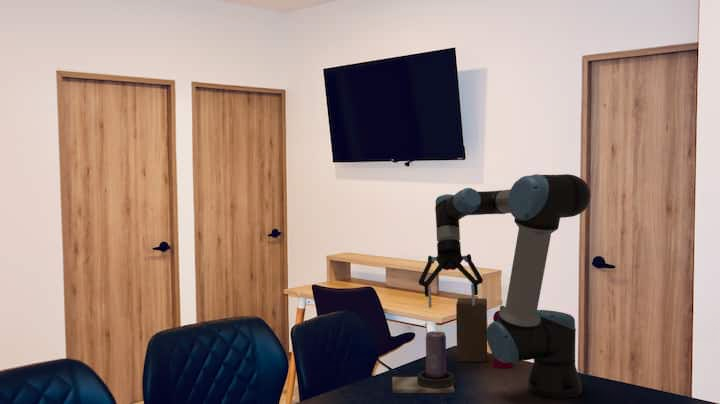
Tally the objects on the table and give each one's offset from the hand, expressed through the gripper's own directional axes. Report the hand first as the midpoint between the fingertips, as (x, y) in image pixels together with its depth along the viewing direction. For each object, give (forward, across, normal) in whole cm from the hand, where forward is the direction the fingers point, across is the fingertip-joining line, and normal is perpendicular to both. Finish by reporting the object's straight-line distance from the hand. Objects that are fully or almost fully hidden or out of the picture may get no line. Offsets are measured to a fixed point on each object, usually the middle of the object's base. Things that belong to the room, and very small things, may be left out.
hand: (451, 306), depth 213 cm
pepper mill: (+16, -16, -20) cm, 30 cm away
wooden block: (+13, -6, -27) cm, 31 cm away
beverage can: (+24, +6, +2) cm, 25 cm away
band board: (+24, +10, +2) cm, 26 cm away
